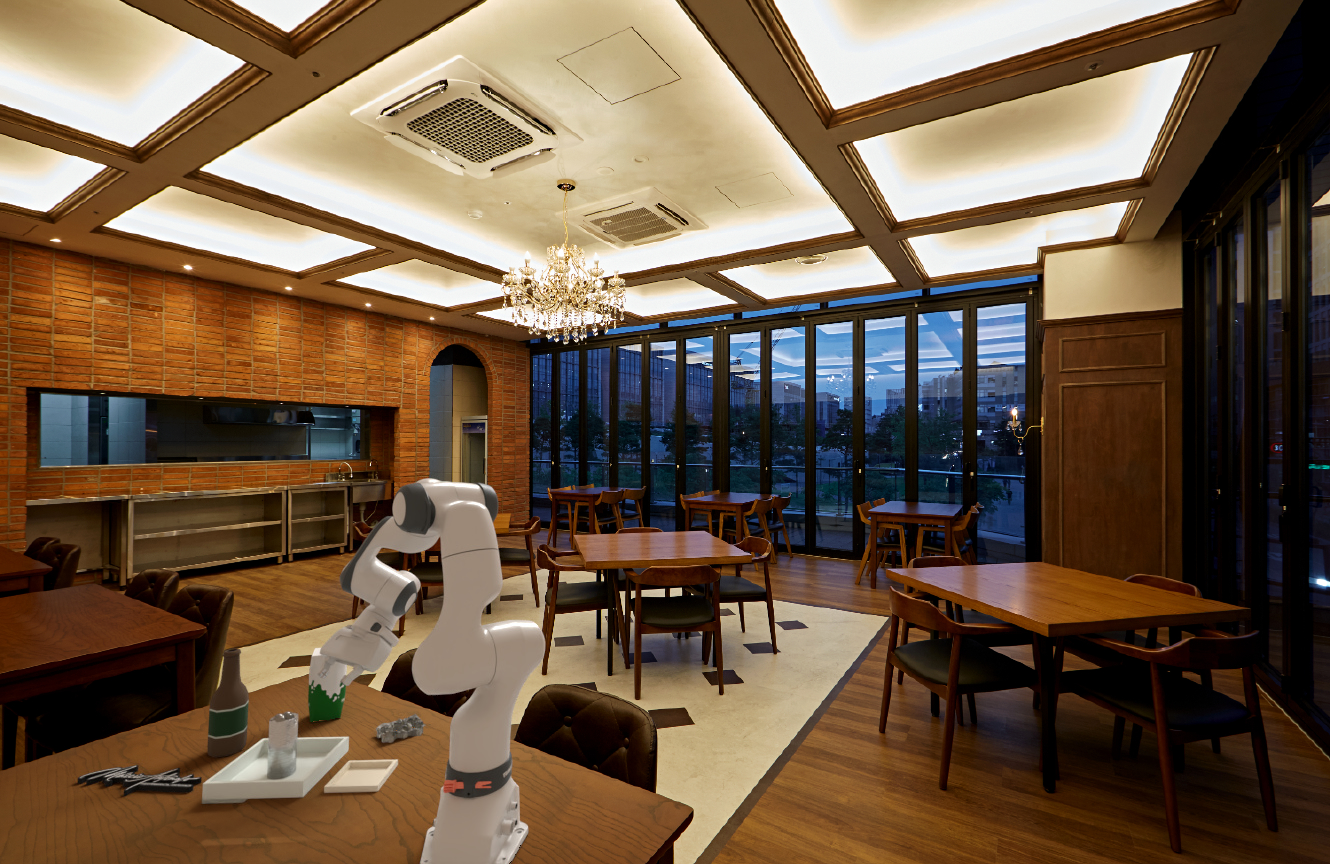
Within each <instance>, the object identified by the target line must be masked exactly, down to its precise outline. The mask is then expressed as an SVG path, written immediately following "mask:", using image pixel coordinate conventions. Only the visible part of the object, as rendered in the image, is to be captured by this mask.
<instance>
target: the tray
mask: <svg viewBox="0 0 1330 864" xmlns="http://www.w3.org/2000/svg"><path fill="white" fill-rule="evenodd" d="M398 766H399V759H363V760H361V759H360V760H358V759H357V760H355V759H353V760H348V761H347V762H346V763H345V764H344V765H343V766H342V767H341V769H339V770H338V772H337V773H336V774H335V775H334V776H333V777H332V778H331V779H330V780H329V781H328V782H327V783H326V784H325V785H324V787H323V793H324V794H333V793H335V794H336V793H370V792H371V793H372V792H373V793H374V792H375V793H376V792H379V791H380V789H381V788H382V787H383V785H384V784H385V783H386V781H387V780H388V779H389V777H390V776H391V775H392V774H393V772H394V771H395V770H396V768H397V767H398Z"/></svg>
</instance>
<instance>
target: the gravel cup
mask: <svg viewBox="0 0 1330 864" xmlns="http://www.w3.org/2000/svg"><path fill="white" fill-rule="evenodd" d="M298 729H299V713H296V712H292V711H288V710H287V711H284V712H283V713H277V714H276V715H274V716H273V717H271V718H270V719H269V722H268V737H267V738H268V761H267V778H268V779H273V780H274V779H282V778H285V777H288V776H290V775H292V774H293V773H295V771H296V761H297V738H299V737H298V735H299V733H298V732H299V730H298Z"/></svg>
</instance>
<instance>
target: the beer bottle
mask: <svg viewBox="0 0 1330 864" xmlns="http://www.w3.org/2000/svg"><path fill="white" fill-rule="evenodd" d="M241 654H242V650H241V649H239V648H230V649H226V650H224V651H223V653H222V655H221V656H222V657H223V660H222V661H223V662H222V668H221V670H222V671H221V675H220V676H221V678H220V681H219V682H220V683H219V685H218V687H217V688H216V690H215V691H214V693H213V695H212V697H211V699H210V702H209V711H208V712H209V713H208V729H207V756H210V757H213V758H215V759H216V758H223V757H229V756H233V755H235V754H237V753H239V752H241V751H243V750H244V748H245V746H246V744H247V739H248V738H247V737H248V722H249V720H248V719H249V702H250V701H249V699H250V698H249V690H248V688H247V686H246V685H245V684H244V683H243V682H242V678H241V677H242V676H241V659H240V658H241Z"/></svg>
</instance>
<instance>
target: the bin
mask: <svg viewBox="0 0 1330 864" xmlns="http://www.w3.org/2000/svg"><path fill="white" fill-rule="evenodd" d="M268 738H269V737H267V738H266V737H265V738H261V739H260V740H259V741H258V742H256V743H255V744H253V745H252V746H251V747H249V749H247V750H245V752H243V753H241V754H240V755H239V756H237V757H236V758H235V759H234V760H232V761H231V762H229V763H228V764H227V765H225V766H224V767H223V768H222V769H220V770H219V771H217V772H216V773H215V774H214V775H212V776H211V777H210V778H208V779H207V780H205V782H203V783H202V792H201V793H202V797H201V805H202V804H203V805H204V804H208V805H209V804H235V803H236V804H239V803H240V804H243V803H245V802H246V801H247V800H248V799H249V800H251V799H253V800H254V799H285V798H286V799H287V798H288V799H290V798H295V799H296V798H304V797H305V796H306V795H307V794H308V793H309V792H310V791H311V790H312V789H313V788H314V786H315V785H317V783H318V782H319V781H320V780H321V779H322V778H323V777H324V776H325V775H327V773H328V772H330V770H331V769H332V768H333V767H334V766H335V765H336V764H337V763H338V762H339V761H340V760H341V759H342V757H344V756H345V755H346V754H347V753H348V752H349V747H350V746H349V744H350V742H349V741H350V736H323V737H322V736H321V737H320V736H318V737H316V736H315V737H311V736H310V737H297V761H296V771H295V773H293V774H292V775H290V776H288V777H285V778H282V779H274V780H273V779H268V778H267V761H268Z"/></svg>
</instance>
